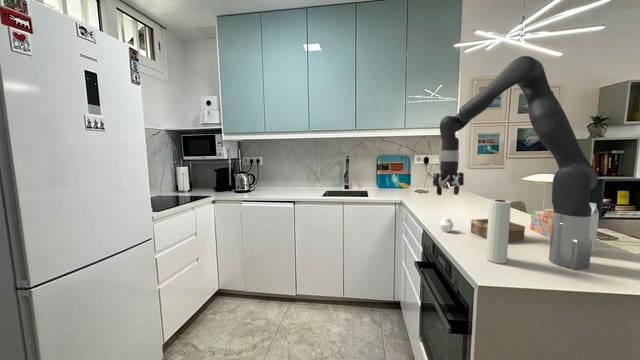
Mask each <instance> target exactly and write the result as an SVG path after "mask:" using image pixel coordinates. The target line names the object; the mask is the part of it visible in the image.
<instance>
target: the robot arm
mask: <svg viewBox="0 0 640 360" xmlns="http://www.w3.org/2000/svg"><path fill="white" fill-rule="evenodd" d="M545 71H546V70H545V69H544V66H543V64H542V62H540V61H539V60H538V59H536V58H534V57H532V56H530V55H523V56H519V57H517V58H515V59H514V60H513V61H511V62H510V63H508V65H507V66H506V67H505V68H504V69H503V70H502V71H501V72H500V73H499V74H498V75H497V76H496V77H495V78H494V79H493V80H492V81H491V82H490V83H489V84H488V85H487V86H486V87H484V88H483V89H482V90H481V91H480V92H479V93H478V94H476V95H475V96H474V97H472V98H471V99H469V100H468V101H467V102H466V103H464V104H463V105H462V106H461V107H459V110H458V113H457V114H455V115H454V116H453V115H452V116H451V115H446V116H444V117H443V118H442V119H441V120H440V122H439V133H440V138H441V141H442V142H441V153H440V161H439V162H440V165H439V170H440V173H437V172H434V173H433V181H432V186H433V187H436V195H437V196H442V194H443V188H442V187H443V186H444V185H445V184H446V183H452V185H453V195H456V196H458V195H459V193H460V187H461V186H464V184H465V183H464V181H465V180H464V179H465V178H464V175H465V174H464V172H460V171H459V172H458V170H459V160H460V158H459V157H460V155H459V151H460V150H459V148H460V139H459V138H458V137H456V133H457V132H459V131H461V130H462V129H463V128H465V127H466V126H467V125H468V124H469V123H470V122H471V121H472V120H473V119H475V118H476V117H477V116H479V115H480V114H483V112H485V111H486V110H487V109H488V108H489V107H490V106H491V105H492V104H493V103H494V102H495V100H496V99H497V98H498V97H499V96H500V95H501V94H503V93H504V92H505V91H507V90H509V89H510V88H512V87H513V86H516V85H518V87H519V89H520V90H521V92H522V93H523V95H524V97H525V98H526V101H527V110H528V117H529V121H530V123H531V127H532V128H533V131H534V133H535V135H536V136H537V137H538V140H539V141H540V142H541V143H542V144H543V145H544V147H545V148H546V149H547V150H548V151H549V152H550V153H551V155H552V156H553V157H554V159H555V162H556V165H557V166H558V170H557V171H556V172H555V173H554V176H553V179H552V187H551V188H552V189H551V190H552V191H551V203H552V204H551V205H552V207H553V208H552V209H553V219H552V229H551V239H550V242H549V253H548V261H550V262H551V263H553V264H555V265H557V266H560V267H565V268H570V269H572V270H580V269H581V270H582V269H583V270H584V269H589V268H590V266H591V265H590V263H591V256H592V253H591V248H592V240H591V239H589V231H590V222H591V213H592V208H591V206H590V203H591V202H590V199H591V198H590V196H591V190H593V189H594V188H595V187H597V185H598V181H599V176H598V174H597V171H596V170H595V168H593V166H592V165H591V163H590V162H589V160H588V158H587V157H586V156H585V154H584V152H583V151H582V149H581V147H580V146H581V145H579V142H578V139H577V137H576V134H575V133H574V129H573V127H572V126H571V125H572V124H571V123H570V120H569V119H568V116H567V115H566V113H565V111H564V109H563V108H562V106H561V103H560V102H559V100H558V98H557V97H556V96H555V94H554V93H553V91H552V89H551V86H550V84H549V81H548V79H547V75H546V72H545Z"/></svg>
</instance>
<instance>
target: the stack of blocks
mask: <svg viewBox="0 0 640 360" xmlns="http://www.w3.org/2000/svg"><path fill="white" fill-rule="evenodd" d="M530 212H531V213H530V214H531V215H530V230H532V231H534V232H536V233H538V234H539V235H542V236H544V237H545V238H548V239H550V240H551V229H552V219H553V208H544V209H543V210H531V211H530Z"/></svg>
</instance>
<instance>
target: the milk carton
mask: <svg viewBox="0 0 640 360" xmlns="http://www.w3.org/2000/svg"><path fill="white" fill-rule="evenodd" d="M589 203H590V206H591V208H592V213H591V222H590V231H589V239H591V240H592V248H591V254H593V253H595V252H596V245H597V244H596V243H597V236H598V228H599V227H598V226H599V219H600V218H599V215H600V212H599V210H598V207H597V203H595V202H589Z"/></svg>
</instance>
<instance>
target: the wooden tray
mask: <svg viewBox="0 0 640 360" xmlns="http://www.w3.org/2000/svg"><path fill="white" fill-rule="evenodd" d="M487 229H488V218H480V219H479V218H476V219H471V221H470V233H471V234H472V235H475V236H477V237H481V238H483V239H486V240H487ZM525 230H526V226H525V225H523V224H518V223H515V222H512V221H510V222H509V236H508V243H509V242H519V241H524V240H525Z"/></svg>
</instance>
